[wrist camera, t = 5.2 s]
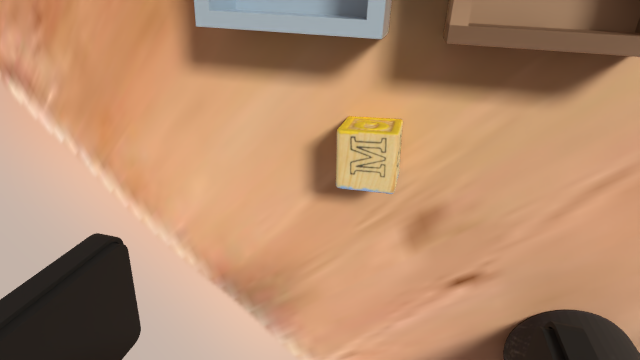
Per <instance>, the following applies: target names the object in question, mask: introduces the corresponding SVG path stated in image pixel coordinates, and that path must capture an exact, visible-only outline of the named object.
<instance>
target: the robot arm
mask: <svg viewBox="0 0 640 360" xmlns="http://www.w3.org/2000/svg"><path fill="white" fill-rule="evenodd" d="M140 331H141V327H140V320H139V314H138V308H137V302H136V296H135V290H134V283H133V277H132V272H131V265H130V259H129V253H128V249H127V247H126V245H124V244H123V241H122V240H121V239H120V238H118V237H113V236H108V235H103V234H93V235H91V236H89V237H88V238H87V239H85V240H84V241H82V242H81V243H80V244H78V245H77V246H75V247H74V248H72V249H71V250H70V251H68V252H67V253H66V254H64V255H63V256H61V257H60V258H58V259H57V260H56V261H54V262H53V263H51V264H50V265H49V266H47V267H46V268H44V269H43V270H41V271H40V272H39V273H37V274H36V275H34V276H33V277H32V278H30V279H29V280H27V281H26V282H25V283H23V284H22V285H20V286H19V287H18V288H16V289H15V290H13V291H12V292H11V293H9V294H8V295H6V296H5V297H3V298H2V299H1V300H0V360H122V359H123V357H124V356H125V355H126V354H127V352H128V351H129V350H130V349H131V348H132V347H133V345H134V344H135V343H136V341H137V340H138V338H139V335H140ZM524 360H599V359H598V357H597V355H596V353H595V351H594V349H593V347H592V345H591V343H590V341H589V338H588V336H587V334H586V333H585V331H584V330H583V329H582V328H581V327H578V326H573V325H568V324H563V323H558V322H552V321H549V322H547V323H546V325H545V327H540V326H539V327H537V328H536V329H535V331H534V333H533V336H532V339H531V341H530V344H529V347H528V349H527V352H526V355H525V358H524Z"/></svg>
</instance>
